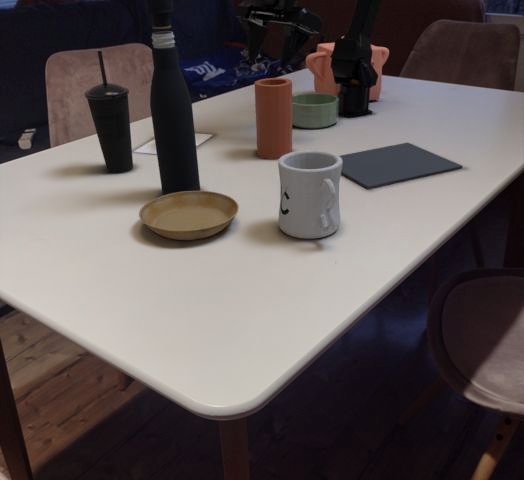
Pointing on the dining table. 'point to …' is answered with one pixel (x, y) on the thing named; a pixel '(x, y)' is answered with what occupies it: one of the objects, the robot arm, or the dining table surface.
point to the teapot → (325, 75)
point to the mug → (309, 193)
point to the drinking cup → (112, 122)
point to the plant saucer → (189, 214)
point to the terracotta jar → (273, 117)
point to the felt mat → (393, 165)
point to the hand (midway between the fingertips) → (266, 65)
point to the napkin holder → (151, 145)
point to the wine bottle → (171, 108)
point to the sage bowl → (314, 110)
